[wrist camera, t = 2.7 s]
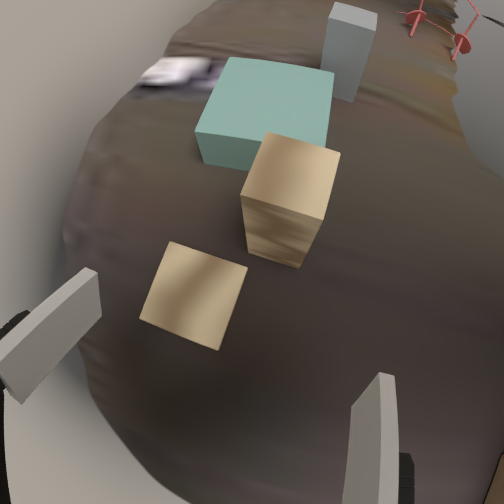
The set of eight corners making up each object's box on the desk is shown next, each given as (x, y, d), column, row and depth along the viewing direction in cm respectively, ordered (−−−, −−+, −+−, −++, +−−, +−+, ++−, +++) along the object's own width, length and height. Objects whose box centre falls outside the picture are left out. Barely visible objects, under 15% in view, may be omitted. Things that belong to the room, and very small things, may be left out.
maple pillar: (313, 222, 30) (340, 152, 18) (298, 269, 29) (323, 220, 17) (265, 207, 31) (266, 131, 19) (248, 252, 29) (240, 194, 18)
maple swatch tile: (248, 269, 29) (247, 267, 28) (218, 350, 27) (217, 350, 26) (171, 243, 30) (169, 241, 29) (141, 318, 28) (139, 318, 27)
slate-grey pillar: (357, 81, 36) (377, 13, 24) (352, 103, 35) (375, 31, 23) (322, 71, 36) (335, 1, 25) (315, 92, 35) (328, 17, 24)
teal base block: (326, 107, 35) (334, 73, 29) (314, 186, 31) (323, 154, 26) (233, 91, 36) (229, 56, 30) (204, 165, 33) (194, 131, 27)
